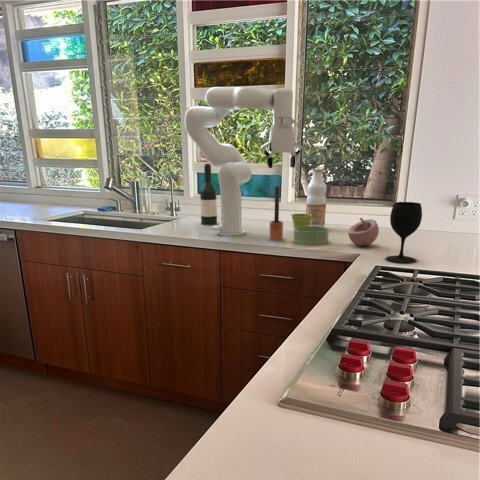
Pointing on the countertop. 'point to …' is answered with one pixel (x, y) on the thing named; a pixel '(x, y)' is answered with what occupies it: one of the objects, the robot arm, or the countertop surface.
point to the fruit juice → (316, 199)
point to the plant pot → (301, 219)
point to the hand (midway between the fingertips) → (281, 167)
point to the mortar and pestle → (364, 232)
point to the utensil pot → (276, 230)
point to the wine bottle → (208, 199)
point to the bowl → (311, 235)
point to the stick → (276, 205)
